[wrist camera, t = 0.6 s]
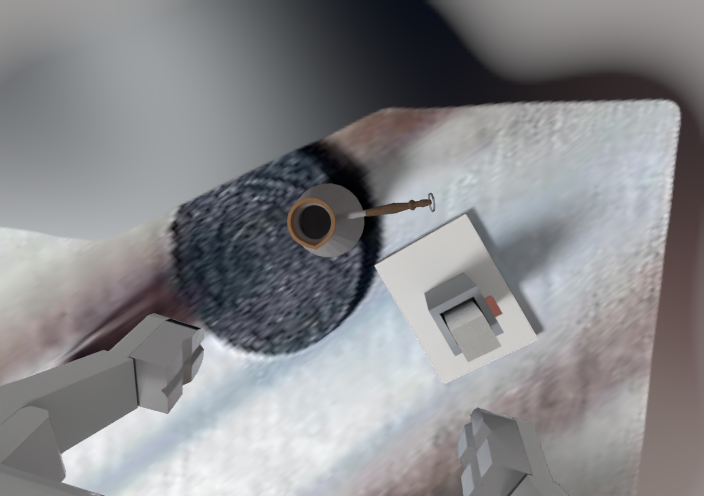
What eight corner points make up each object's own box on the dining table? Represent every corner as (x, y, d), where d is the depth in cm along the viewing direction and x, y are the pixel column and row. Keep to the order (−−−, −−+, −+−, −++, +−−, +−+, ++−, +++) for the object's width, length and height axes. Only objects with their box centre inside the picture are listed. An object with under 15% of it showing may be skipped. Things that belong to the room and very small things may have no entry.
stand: (534, 336, 54) (569, 368, 43) (442, 379, 57) (452, 421, 46) (464, 213, 54) (480, 214, 43) (375, 264, 57) (368, 276, 45)
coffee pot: (304, 259, 59) (270, 275, 44) (292, 191, 58) (253, 184, 43) (432, 240, 55) (443, 250, 40) (422, 167, 54) (429, 151, 39)
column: (473, 307, 54) (502, 346, 38) (449, 319, 54) (467, 362, 39) (460, 284, 54) (483, 313, 38) (436, 296, 54) (449, 331, 39)
